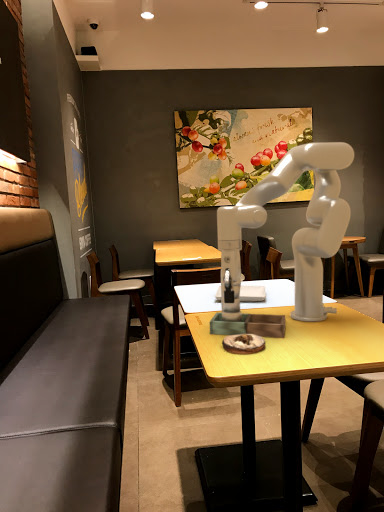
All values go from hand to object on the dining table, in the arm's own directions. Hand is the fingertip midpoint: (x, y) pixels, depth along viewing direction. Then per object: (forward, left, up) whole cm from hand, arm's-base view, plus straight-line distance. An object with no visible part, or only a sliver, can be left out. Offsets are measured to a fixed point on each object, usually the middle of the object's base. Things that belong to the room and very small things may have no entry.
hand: (231, 299), depth 129 cm
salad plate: (+4, -45, -11) cm, 47 cm away
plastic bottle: (0, 0, -9) cm, 9 cm away
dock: (-5, 0, -10) cm, 11 cm away
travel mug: (+4, -18, -10) cm, 21 cm away
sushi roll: (-6, +15, -11) cm, 19 cm away
